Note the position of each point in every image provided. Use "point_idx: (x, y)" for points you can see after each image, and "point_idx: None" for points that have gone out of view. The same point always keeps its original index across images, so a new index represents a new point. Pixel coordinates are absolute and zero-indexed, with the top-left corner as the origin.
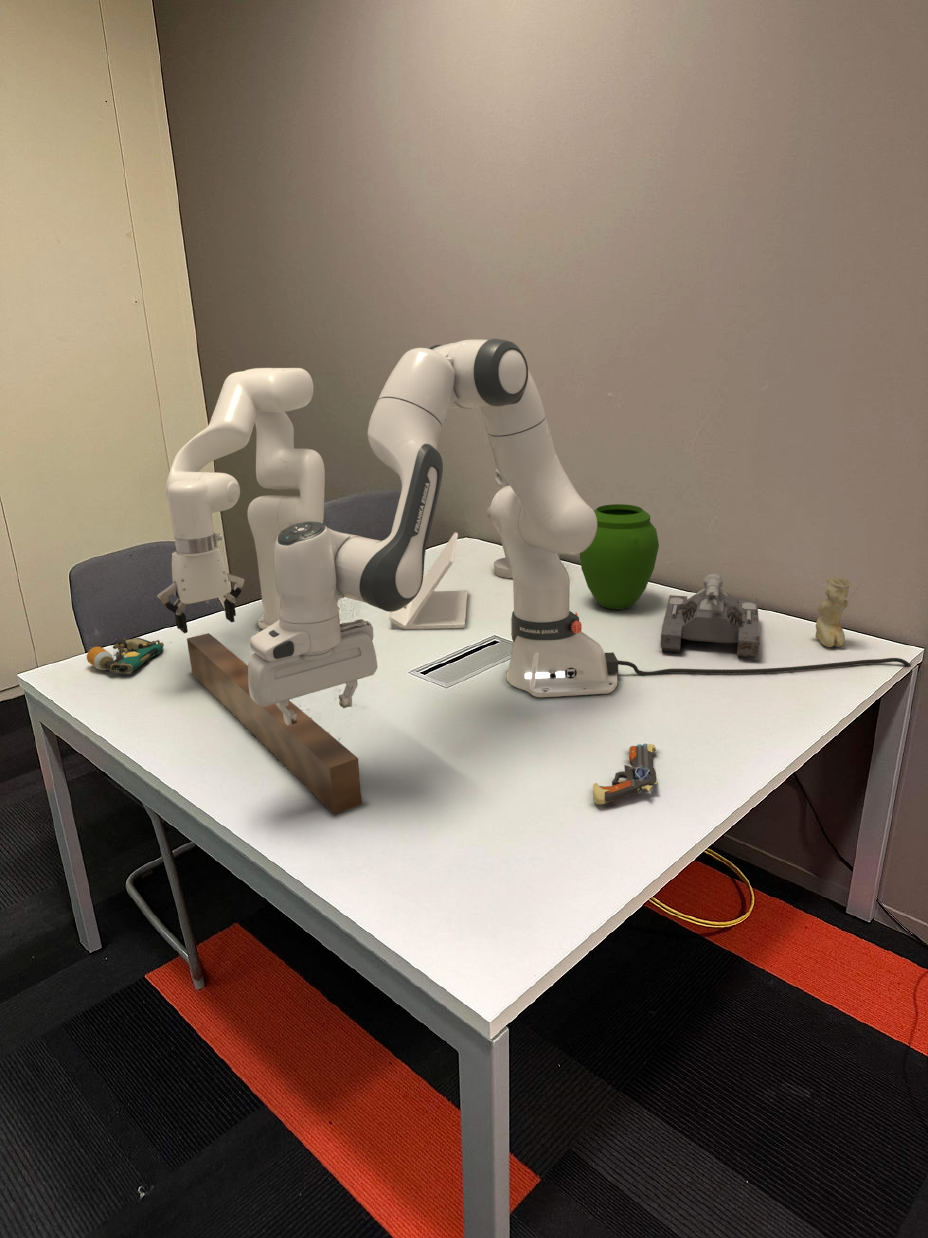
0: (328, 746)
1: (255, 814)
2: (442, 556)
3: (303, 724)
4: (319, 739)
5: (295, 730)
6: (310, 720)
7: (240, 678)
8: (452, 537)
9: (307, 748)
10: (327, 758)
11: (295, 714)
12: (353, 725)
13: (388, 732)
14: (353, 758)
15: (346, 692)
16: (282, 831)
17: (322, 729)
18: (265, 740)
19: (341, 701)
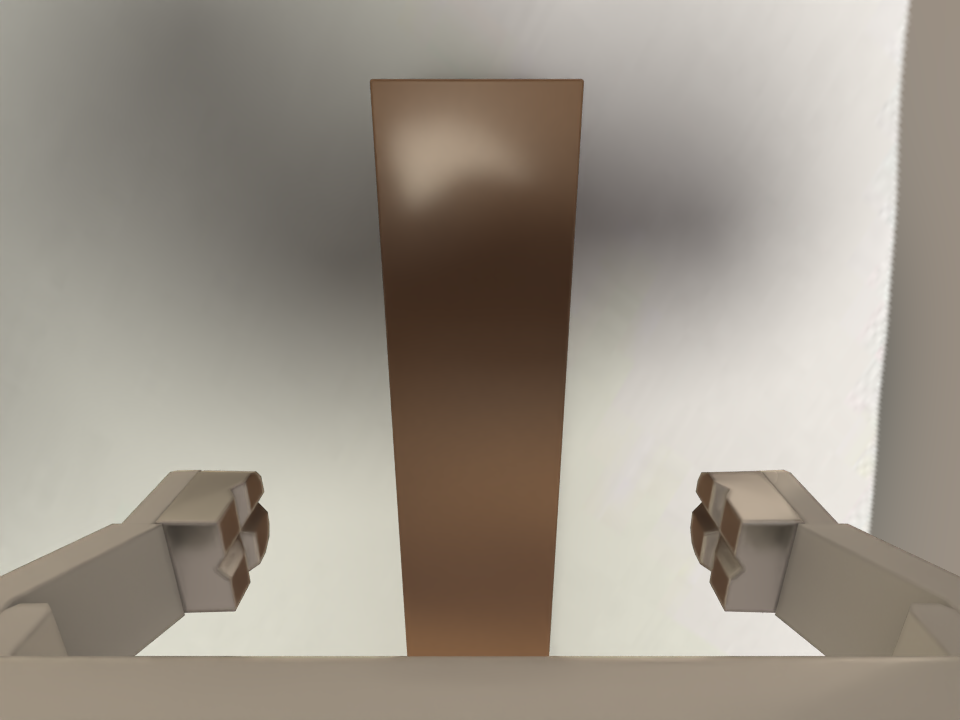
0: (462, 337)
1: (771, 306)
2: None
3: (464, 608)
4: (468, 435)
5: (525, 580)
6: (417, 621)
7: None
8: None
9: (564, 394)
10: (535, 208)
11: (750, 518)
12: (211, 616)
13: (109, 515)
14: (400, 93)
15: (144, 596)
16: (765, 128)
17: (406, 516)
18: None
19: (242, 543)
